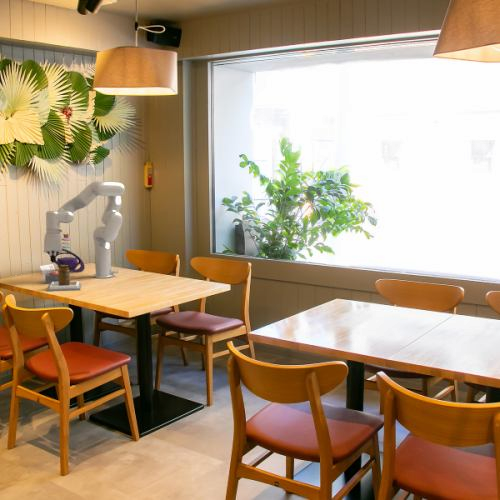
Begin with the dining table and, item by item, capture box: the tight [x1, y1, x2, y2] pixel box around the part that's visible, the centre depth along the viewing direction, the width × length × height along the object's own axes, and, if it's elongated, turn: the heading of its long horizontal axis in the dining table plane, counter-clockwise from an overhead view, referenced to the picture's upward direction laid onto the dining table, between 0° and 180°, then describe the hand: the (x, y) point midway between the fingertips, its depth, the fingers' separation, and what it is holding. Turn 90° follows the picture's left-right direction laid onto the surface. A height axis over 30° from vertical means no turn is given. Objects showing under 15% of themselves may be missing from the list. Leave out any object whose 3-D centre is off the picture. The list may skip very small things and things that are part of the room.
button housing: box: [44, 272, 59, 285], centre depth 371 cm, size 10×10×5 cm
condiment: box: [57, 265, 71, 286], centre depth 353 cm, size 7×8×12 cm
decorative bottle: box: [52, 233, 85, 273], centre depth 407 cm, size 22×21×25 cm
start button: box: [49, 270, 59, 275], centre depth 371 cm, size 5×5×3 cm
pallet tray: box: [46, 280, 83, 292], centre depth 355 cm, size 18×16×2 cm
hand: (53, 262), depth 370 cm, fingers closed
